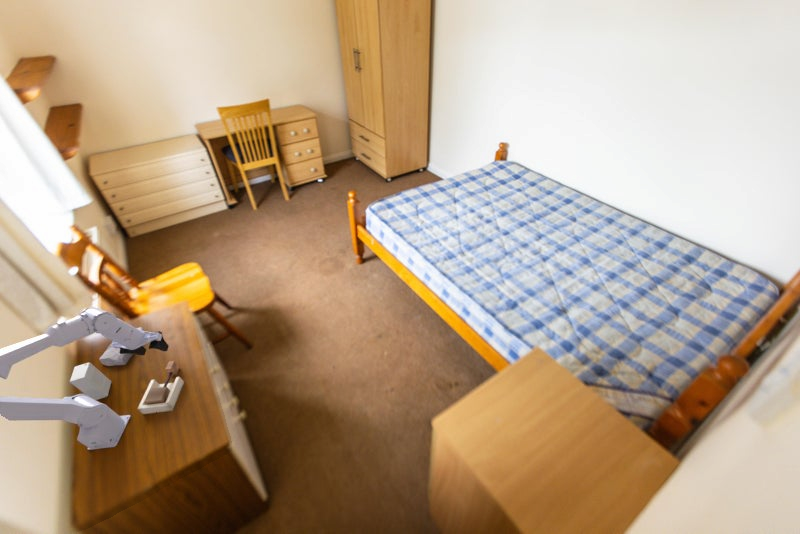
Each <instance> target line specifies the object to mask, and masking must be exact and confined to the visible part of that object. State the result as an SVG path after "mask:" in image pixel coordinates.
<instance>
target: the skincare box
mask: <svg viewBox="0 0 800 534" xmlns="http://www.w3.org/2000/svg"><path fill="white" fill-rule="evenodd" d="M69 383H70V384H71V385H72V386H74V387H75V388H77V389H78V390H79V391H80V392H81V393H82V394H86V395H88V396H89V397H90V398H92V399H94V400H96V401H98V400H100V399H104V398H107V397H108V396H109V391H110V389H111V384H112V380H110V379H109V378H108V377H107V376H106V375H105V374H103V373H102V372H101V371H100V370H99V369H98V368H97V367H95V365H94V364H92V363H91V362H85V363H81V364H79V365H76V366H74V368H73V371H72V374H71V377H70V379H69Z"/></svg>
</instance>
